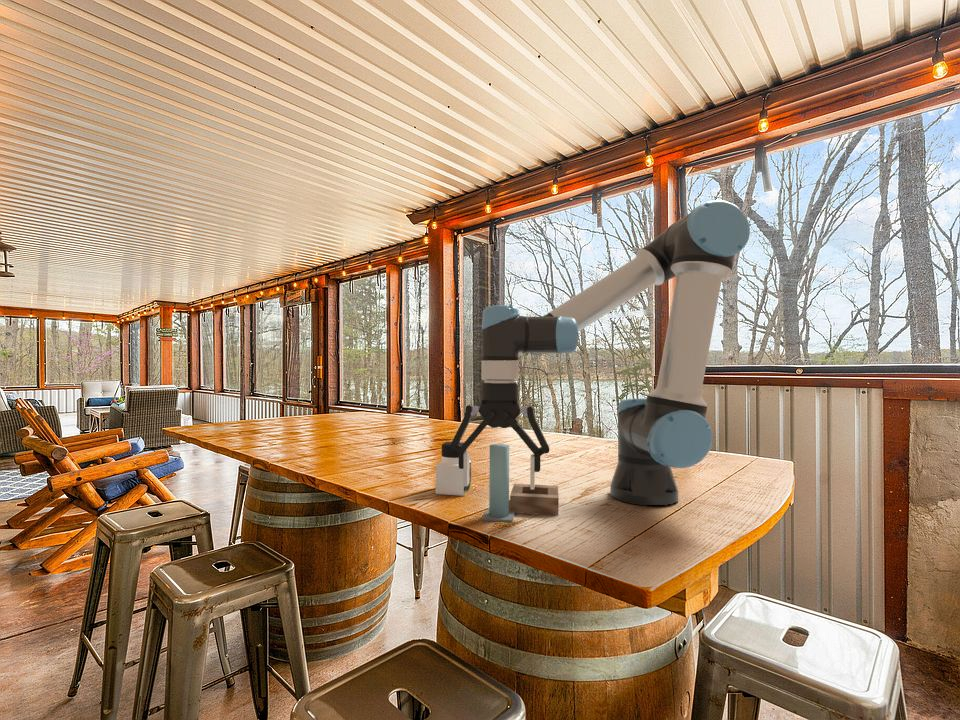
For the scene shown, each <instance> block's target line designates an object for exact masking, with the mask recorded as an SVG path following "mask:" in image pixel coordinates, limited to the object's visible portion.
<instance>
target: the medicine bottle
mask: <svg viewBox="0 0 960 720" xmlns="http://www.w3.org/2000/svg"><path fill="white" fill-rule="evenodd" d="M452 441H453V440H450V441H445V442H444V443H442V444H441V461H439V462H438V463H436V465H435V495H444V496H445V495H446V496H460V497H462V496H463V497H464V496H465V495H466V494H467V493H468V492H469V491H470V490H471V488H472V460H470V462H469V484H468V486H463V471H464V469H459V454H458V452H457V451H455V450H451V449H450V445H451V443H452ZM463 443H464V442H462V441H460V442H459V445H462V444H463Z"/></svg>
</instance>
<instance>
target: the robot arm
mask: <svg viewBox="0 0 960 720" xmlns="http://www.w3.org/2000/svg"><path fill="white" fill-rule="evenodd" d="M750 233H751V228H750V222H749V220H748V218H747V215H746V214H744V213H743V212H742V210H741V208H740V207H738V206H737V205H735V204H734V203H732V202H729V201H727V200H722V199H721V200H720V199H719V200H711V201H708V202H705V203H704V204H700V205H698V206H696V207H694V208H693V209H692V210H691V212H689V213H688V214H686V215H685V216H683V217H682V218H680V219H678V220H677V221H675V222H674V223H672V224H670V225H669V226H668V227H667V228H666V229H665V230H663V232H661V233H660V234H659V235H658V236H657V237H656V238H654V239H653V240H652V241H651V242H649V243H648V244H647V245H645V246H644V247H642V248H641V249H639V250H638V251H637V252H636V255H635V257H634V258H633V259H632V260H630V261H628V262H627V263H625V264H623V265H622V266H620V267H619V268H617V269H615V270H614V271H612V272H610V273H609V274H608V275H606V276H605V277H603V278H601V279H599V280H598V281H597V282H595V283H593V284H592V285H590V286H588V287H587V288H585V289H584V290H582V291H581V292H579V293H577V294H576V295H574V296H573V297H571V298H570V299H568V300H566V301H565V302H563V303H562V304H560V305H559V306H557V307H555V308H554V309H552V310H550V311H549V312H547V313H546V314H544V315H543V316H524V315H520V311H519V307H517V306H515V305H506V304H499V305H498V304H497V305H496V304H495V305H488V306H486V307H485V308H483V311H482V316H481V317H482V319H481V364H480V365H481V367H480V368H481V377H480V379H481V380H482V381H483V382H482V384H481V385H480V386H481V389H480V391H481V394H480V395H481V396H480V398H481V399H480V400H481V401H480V405H479V406H477V405H473V404H468V405H466V406H465V411H464V416H463V419H462V421H461V423H460V425H459V427H458V429H457V430H456V432H455V434H454V437H453V438H452V440H451V441H452V443H451V445H450V449H451V450H455V451H457V452H458V454H459V469H464V471H463V486H468V484H469V462H470V451H467V449H468V448H469V447H470V446H471V445H472V444H473V442H474V441H475V440H476V439H477V438H478V436H479V435H481V433H482V432H483V431H484V430H485V428H487V426H489V427H490V428H491V429H495V428H500V429H507V428H508V429H509V427H511V428H512V429H513V431H514V432H516V434H517V435H518V437H519V438H520V439H521V440H522V441H523V443H525V445H526V447H528V448H529V450H530V452H532V453H531V454H530V467H529V468H530V471H529V474H530V476H529V477H530V478H529V479H530V480H529V481H530V483H529V484H530V489H532V490H534V487H535V485H536V483H535V481H536V480H535V477H536V476H535V475H536V473H539V472H540V471H541V458H542V455H546V454H548V453H550V446H549V443H548V442H547V440H546V438H545V435H544V434H543V431H542V429H541V427H540V425H539V424H538V421H537V419H536V417H535V412H534V411H535V409H534V406H533V405H529V406H521V407H520V405H519V384H518V383H517V382H516V381H518V380H519V353H522V354H526V353H527V354H530V355H533V356H541V355H545V354H546V355H548V354H560V355H563V354H572V353H574V352H575V351H576V350H577V347H578V343H579V332H581V331H582V330H584V329H585V328H587V327H588V326H590V325H592V324H593V323H595V322H596V321H598V320H600V319H602V317H604V316H606V315H607V314H609V313H610V312H612V311H614V310H615V309H617V308H618V307H620V306H622V305H624V304H625V303H626V302H628V301H629V300H631V299H632V298H634V297H636V296H638V295H639V294H640V293H642V292H644V291H646V290H648V289H649V288H651V287H652V286H653V285H655V286H661V285H663V284H664V283H666V282H667V281H669V280H671V279H673V278H675V277H676V279H675V285H674V288H673V296H672V301H671V305H670V306H671V307H670V312H669V318H668V323H667V329H666V334H665V340H664V345H663V351H662V356H661V362H660V367H659V368H660V369H659V372H658V378H657V383H656V386H655V387H656V388H654V389H653V390H652V391H650V392H649V393H647V395H646V397H645V398H643V397H642V398H641V397H640V398H627V399H626V398H625V399H622V400H620V402H619V404H618V409H617V410H618V411H617V414H616V415H617V465H616V467H615V470H614V473H613V476H612V479H611V482H610V488H609V489H610V490H609V491H610V492H609V493H610V494H609V495H610V497H612V498H613V499H615V500H618V501H621V502H625V503H628V504H633V505H639V506H647V505H665V506H668V505H667V504H671V505H673V504H672V503H675V502H677V501H678V502H679V488H678V486H677V482H676V479H675V476H674V473H673V471H672V468H675V469H685V468H691V467H693V466H695V465H696V464H698V463H700V462H702V461H703V459H705V458H706V456H707V455H708V453H709V452H710V450H711V448H712V444H713V440H714V439H713V438H714V435H713V430H712V428H711V426H710V425H709V422H708V420H707V419H706V417H707V409H708V404H707V403H706V401H705V400H704V398H703V397H702V391H703V384H704V380H705V379H704V378H705V373H706V369H707V368H706V367H707V363H708V362H707V361H708V358H709V357H708V356H709V351H710V347H711V340H712V335H713V329H714V325H715V324H714V323H715V318H716V313H717V308H718V304H719V303H718V302H719V297H720V291H721V285H722V282H723V280H725V279H726V278H727V277H729V276H730V275H732V272H733V266H734V262H735V261H734V260H735V256H736V255H737V254H738V253H740V252H741V251H742V250H743V249H744V248H745V247H746V245H747V244H748V242H749V239H750V236H751V235H750ZM477 413H479V415H480V416H481V418H482V419H483V420H482V421H480V423H479V425H478V426H476V428H475V429H474V430H473V432H472V433H471V434H470V435H469V436H468V437H467V439H466V440H465V441H464V442H463V444H462V445H459V442H461V440H462V438H463V436H464V434H465V432H466V431H467V429H468V426H469V424H470V422H471V421H472V418H473V417H474V416H476V414H477ZM520 414H523V417H524V418H527V419H528V422H529V424H530V427H531V428H532V431H533V433H534V435H535V437H536V439H537V441H538V443H539V446H541V447H539V446H538V445H537V444H536V443H535V442H534V440H533V439H532V437H531V436H530V435H529V434H528V433H527V432H526V431H525V429H524V428H523V427H522V425H521V424H520V423H519V421H517V418H518V416H519V415H520ZM678 502H677V503H678ZM675 504H676V503H675Z"/></svg>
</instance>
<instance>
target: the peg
mask: <svg viewBox="0 0 960 720" xmlns="http://www.w3.org/2000/svg"><path fill="white" fill-rule="evenodd" d="M488 480H489V481H488V482H489V493H488V494H489V495H488V496H489V499H488V509H489V515H490V516H492V517H496V518H503V517H507V516H509V510H510V445H509V444H507V443H505V444H504V443H494V444H493V443H492V444H490V445H489V478H488Z"/></svg>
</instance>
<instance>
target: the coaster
mask: <svg viewBox="0 0 960 720" xmlns="http://www.w3.org/2000/svg"><path fill="white" fill-rule="evenodd" d="M515 515H516V513H515V511H510V509H509V516H507V517H503V518H496V517H492V516H490V515H489V508H486V509H485V511H484V514H483V516H482V518H481V519H482V521H487V522H489V521H490V522H501V523H502V522H503V523H513V522H514V517H515Z"/></svg>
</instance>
